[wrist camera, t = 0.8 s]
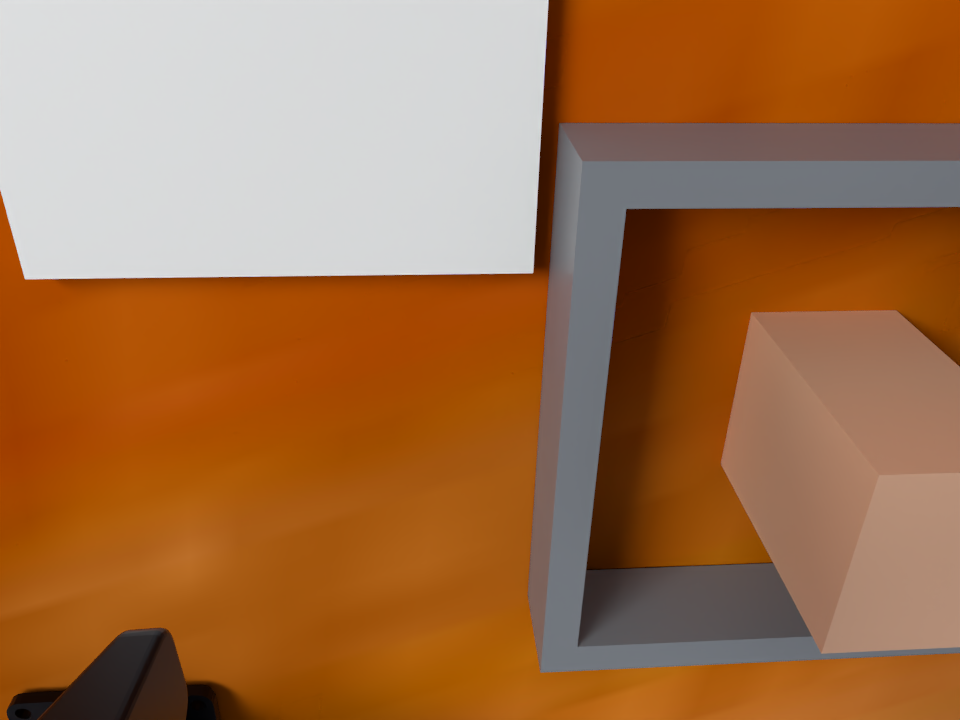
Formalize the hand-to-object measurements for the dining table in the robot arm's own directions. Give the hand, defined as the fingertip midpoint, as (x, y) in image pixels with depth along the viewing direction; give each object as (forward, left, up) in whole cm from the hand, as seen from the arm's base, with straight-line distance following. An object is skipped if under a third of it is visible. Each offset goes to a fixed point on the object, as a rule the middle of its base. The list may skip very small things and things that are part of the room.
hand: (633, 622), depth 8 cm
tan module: (-6, -9, -14) cm, 17 cm away
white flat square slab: (+4, +5, -14) cm, 15 cm away
